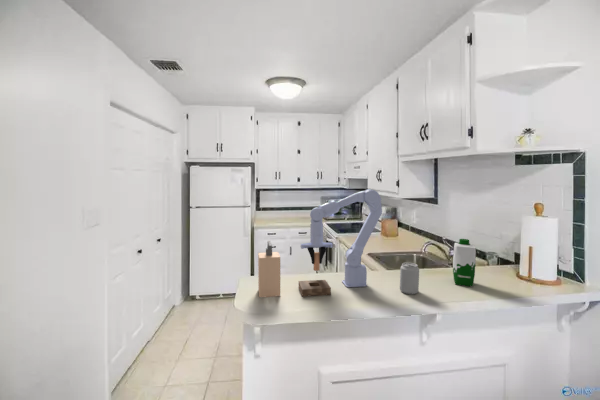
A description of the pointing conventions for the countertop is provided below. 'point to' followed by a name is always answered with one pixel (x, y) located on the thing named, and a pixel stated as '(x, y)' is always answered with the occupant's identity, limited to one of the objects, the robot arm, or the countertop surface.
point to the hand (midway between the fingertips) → (316, 263)
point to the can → (409, 278)
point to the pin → (316, 261)
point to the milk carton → (464, 263)
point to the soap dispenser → (269, 273)
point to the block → (314, 288)
